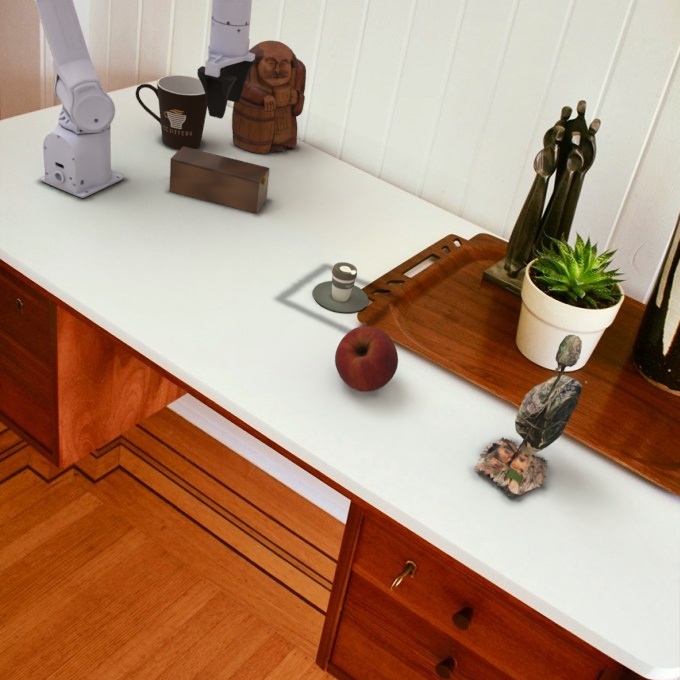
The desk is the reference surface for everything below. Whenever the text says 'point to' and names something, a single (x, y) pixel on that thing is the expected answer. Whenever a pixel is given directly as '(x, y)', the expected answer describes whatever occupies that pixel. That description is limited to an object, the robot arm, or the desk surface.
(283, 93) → the wooden figurine
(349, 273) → the coffee cup
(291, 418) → the desk surface
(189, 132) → the coffee mug
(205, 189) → the pencil box
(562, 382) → the plant with pod
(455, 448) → the desk surface
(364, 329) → the apple
